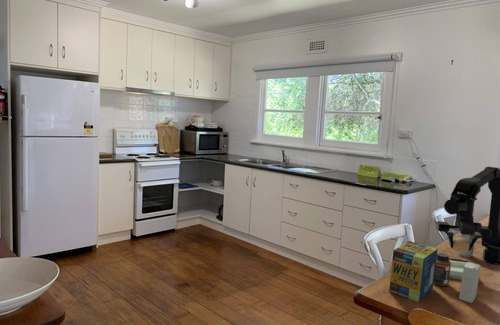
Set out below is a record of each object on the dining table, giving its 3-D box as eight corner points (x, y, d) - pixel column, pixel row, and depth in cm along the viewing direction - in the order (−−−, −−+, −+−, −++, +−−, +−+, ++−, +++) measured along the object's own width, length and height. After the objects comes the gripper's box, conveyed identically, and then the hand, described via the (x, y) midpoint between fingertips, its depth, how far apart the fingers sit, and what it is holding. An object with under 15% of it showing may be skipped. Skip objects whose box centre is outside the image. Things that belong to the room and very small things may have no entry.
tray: (469, 270, 158) (470, 263, 157) (478, 282, 146) (479, 274, 146) (438, 265, 161) (438, 259, 161) (444, 277, 149) (445, 269, 149)
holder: (470, 261, 168) (470, 260, 167) (476, 270, 158) (477, 268, 158) (445, 258, 170) (445, 257, 170) (450, 266, 161) (450, 265, 161)
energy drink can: (469, 258, 171) (473, 226, 169) (455, 254, 175) (459, 223, 174) (474, 256, 175) (478, 224, 173) (460, 252, 179) (464, 221, 178)
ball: (466, 250, 155) (467, 236, 154) (470, 256, 149) (472, 241, 148) (449, 248, 156) (451, 234, 155) (453, 253, 150) (455, 239, 150)
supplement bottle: (450, 287, 140) (454, 258, 139) (433, 285, 141) (436, 256, 140) (445, 281, 146) (449, 252, 144) (429, 279, 147) (432, 250, 146)
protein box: (388, 292, 134) (392, 250, 132) (404, 279, 146) (409, 240, 144) (418, 303, 127) (423, 258, 125) (433, 288, 139) (438, 248, 137)
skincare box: (462, 293, 136) (466, 261, 134) (476, 297, 133) (481, 264, 132) (458, 299, 131) (462, 265, 130) (473, 304, 128) (477, 269, 127)
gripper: (443, 213, 145) (439, 253, 147) (498, 219, 140) (493, 260, 142) (437, 207, 156) (433, 244, 158) (488, 212, 151) (483, 250, 153)
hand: (460, 249), depth 152 cm, fingers closed on ball, 6 cm apart
